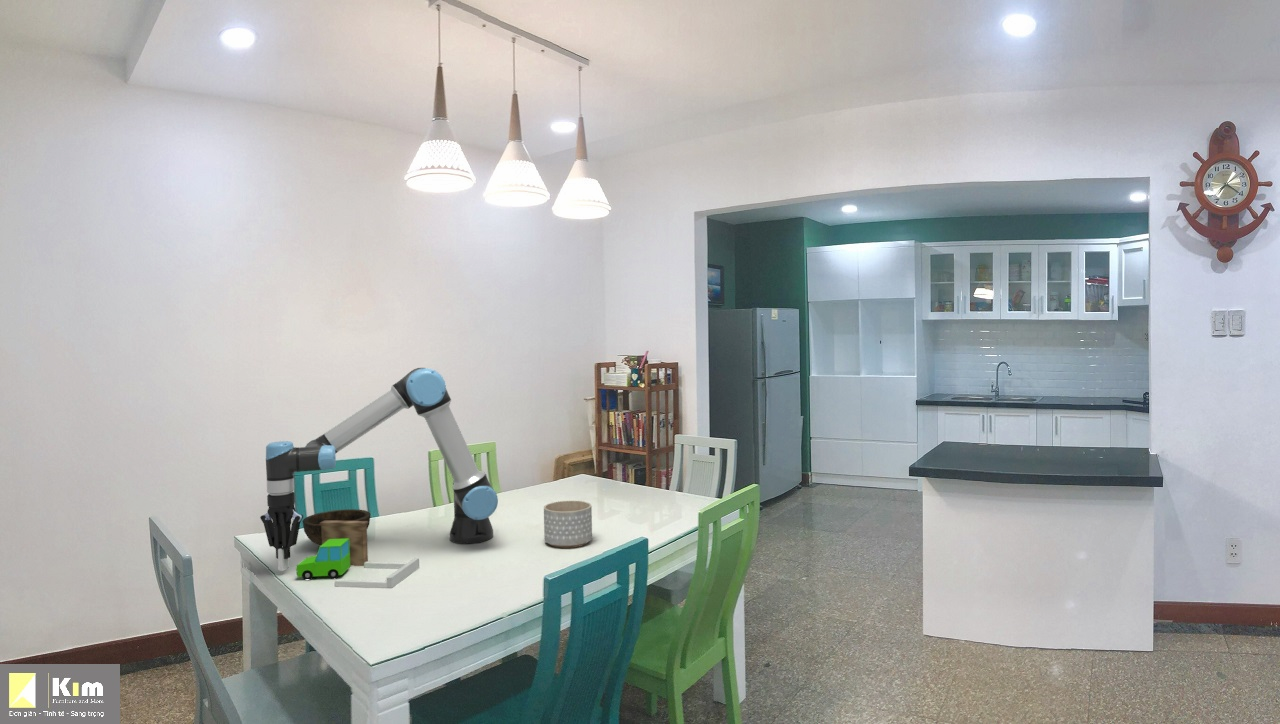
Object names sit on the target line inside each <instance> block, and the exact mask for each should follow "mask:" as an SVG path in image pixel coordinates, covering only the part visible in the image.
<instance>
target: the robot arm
mask: <svg viewBox="0 0 1280 724" xmlns="http://www.w3.org/2000/svg"><path fill="white" fill-rule="evenodd" d="M446 386H447V384H446V380H445V378H444V377H443V376H442V375H441V374H440V373H439V372H438V371H436V370H435V369H432V368H428V367H417V368H413V369H412V370H411V371H409V372H408V373H407V374H406V375H405V376H403V377H402V378H401V379H400V380H398V381H397V382H395V383H394V384H392V385H391V387H390V388H391V389H390V390H389V391H387V392H385V393H384V394H383V395H381V396H379V397H378V398H377V399H375V400H373V401H372V402H370V403H369V404H367V405H365V406H364V407H363V408H360V409H359V410H358V411H357V412H355V413H354V414H352V415H351V416H349V417H347V418H346V419H345V420H342V421H341V422H340V423H338V424H337V425H335V426H334V427H332V428H331V429H329V430H328V431H326V432H324V433H322V435H320V436H318V437H317V438H315V439H313V440H310V441H309V442H307V443H306V445H305V446H302V447H301V446H300V447H295V446H294V443H293V441H288V440H286V441H285V440H283V441H281V440H280V441H274V442H269V443H268V444H267V445H266V447H265V469H266V472H265V473H266V493H267V494H268V495H267V496H266V499H267V502H266V503H267V507H268V509H267V513H264V514H263V515H260V517H259V519H260V520H261V522H262V523H263V526H264V531H265V535H266V538H267V542H268V545H269V547H273V548H274V549H275V558H276V559H277V561H278V566H277V567H278V571H285V570H287V569H289V559H290V558H291V547H293V546H295V545H296V544H297V541H298V537H299V532H300V531H299V530H300V527H301V522H302V521H303V519H304V514H299V513H298V512H297V511H296V508H295V505H296V504H295V503H296V493H295V492H294V490H295V473H300V472H312V471H313V472H315V471H326V470H327V471H328V470H333V469H335V467H336V465H337V464H336V463H337V461H336V458H337V457H336V456H337V453H339V452H340V451H342V450H343V449H345V448H346V447H348V446H349V445H351V444H352V443H354V442H355V441H357V440H358V439H360V438H361V437H363V436H364V435H366V434H367V433H369V432H370V431H372V430H373V429H375V428H377V427H378V426H379V425H381V424H382V423H383V422H385V421H387V420H388V419H391V417H393V416H395V415H396V414H397V413H399V412H401V411H402V410H404V409H409V410H410V408H412V407H413V409H414V410H415V412H416V414H417V416H419V417H422V418H424V420H425V422H426V423H427V427H428V428H429V430H430V432H431V435H432V437H433V439H434V441H435V443H436V445H437V447H438V449H439V451H440V453H441V456H442V458H443V460H444V462H445V464H446V467H447V468H448V470H449V472H450V474H451V477H452V480H453V482H452V487H451V488H452V490H453V511H454V515H453V517H454V518H453V520H452V521H453V522H452V525H451V527H450V531H449V541H451V542H452V543H456V544H475V543H477V544H478V543H481V542H486V541H489V540H490V539H493V537H494V528H493V525H492V523H491V520H490V516H492V515H493V514H494V513H495V512H496V510H497V507H498V503H499V499H498V494H497V492H496V490H494V488H493V487H492V486H491V483H490V481H489V479H488V476H487V474H486V472H485V471H482V470H479V468H478V466H477V464H476V462H475V460H474V457H473V455H472V454H471V451H470V448H469V446H468V445H467V442H466V440H465V437H464V436H463V434H462V431H461V429H460V427H459V425H458V423H457V420H456V419H455V416H454V414H453V412H452V409H451V407H450V405H451V402H452V399H451V397H450V394H449V392H448V390H447V387H446Z"/></svg>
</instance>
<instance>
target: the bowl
mask: <svg viewBox="0 0 1280 724" xmlns="http://www.w3.org/2000/svg"><path fill="white" fill-rule="evenodd" d="M324 520H332V521H368V524H367V530H368V528H369V526H370V523H371V522H370V521H371V512H369V511H368V510H363V509H336V510H328V511H322V512H319V513H313V514H311V515H309V516H306V517H304V518H303V519H302V520H301V522H302V525H303V526H302V527H303V531H304V533H305V536H306V538H308V540H310V542H312V543H314V544H316V545H317V546H319V547H320V546H321V545H322V531H321V525H320V522H322V521H324Z"/></svg>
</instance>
